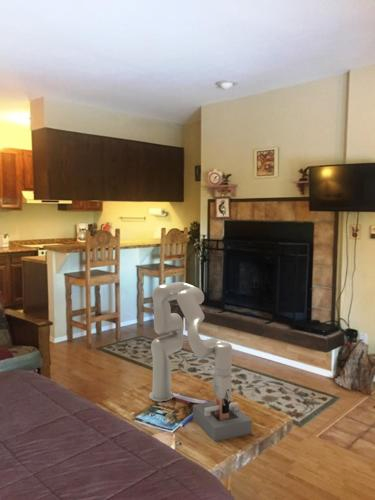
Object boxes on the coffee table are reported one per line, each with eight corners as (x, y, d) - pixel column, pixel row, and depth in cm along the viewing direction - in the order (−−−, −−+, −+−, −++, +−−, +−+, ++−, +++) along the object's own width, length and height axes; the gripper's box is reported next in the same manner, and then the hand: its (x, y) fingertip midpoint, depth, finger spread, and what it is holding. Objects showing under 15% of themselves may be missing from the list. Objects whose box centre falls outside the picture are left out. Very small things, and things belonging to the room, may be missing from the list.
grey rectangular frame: (192, 417, 198) (193, 397, 197) (226, 411, 206) (227, 392, 205) (214, 441, 178) (214, 419, 177) (251, 433, 185) (252, 412, 185)
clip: (214, 413, 193) (214, 393, 193) (222, 412, 195) (222, 392, 194) (220, 419, 188) (221, 399, 187) (228, 418, 189) (229, 397, 188)
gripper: (206, 365, 196) (205, 402, 197) (224, 379, 180) (223, 419, 182) (221, 363, 199) (220, 400, 200) (240, 376, 183) (238, 416, 185)
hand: (221, 409), depth 191 cm, fingers closed on clip, 6 cm apart
